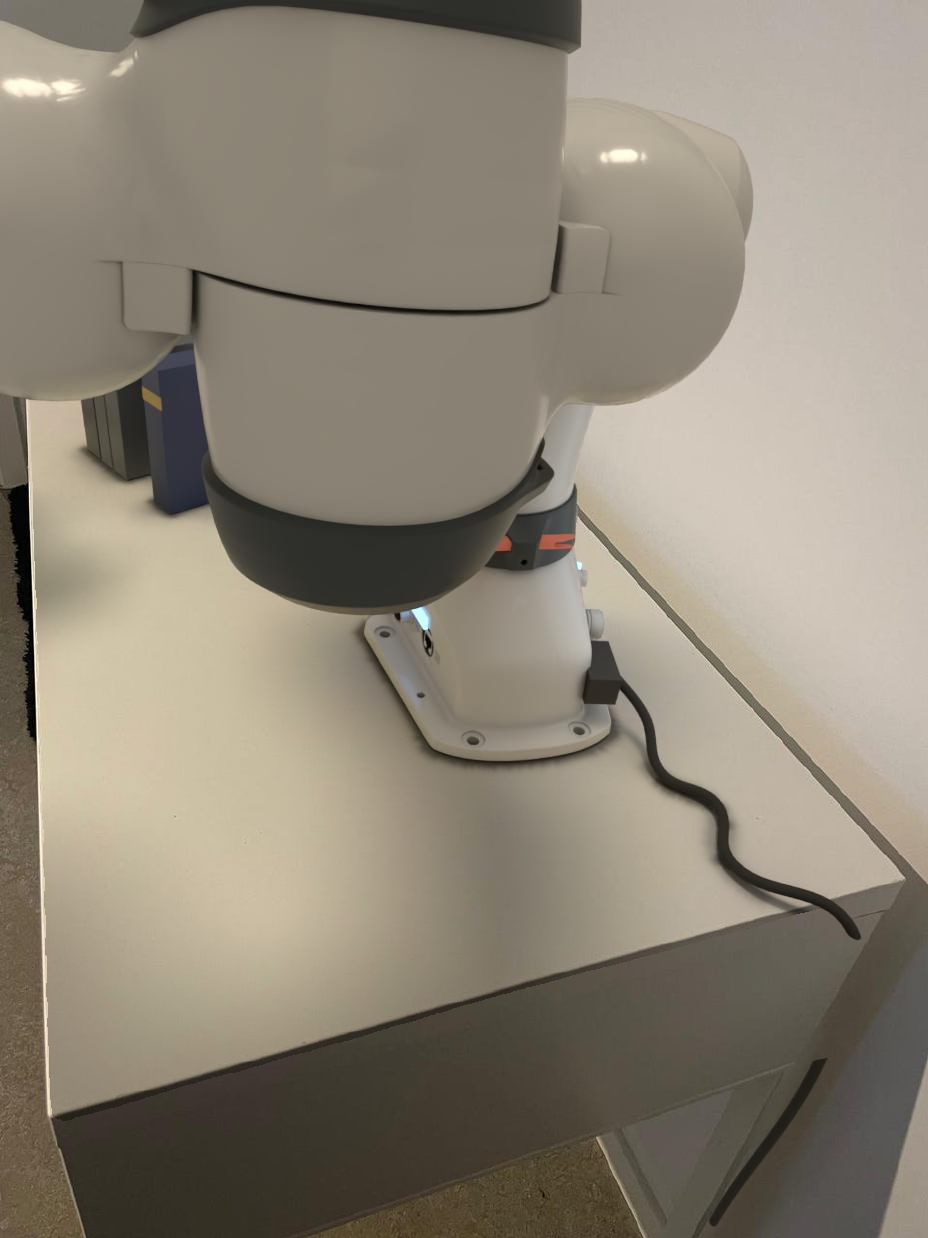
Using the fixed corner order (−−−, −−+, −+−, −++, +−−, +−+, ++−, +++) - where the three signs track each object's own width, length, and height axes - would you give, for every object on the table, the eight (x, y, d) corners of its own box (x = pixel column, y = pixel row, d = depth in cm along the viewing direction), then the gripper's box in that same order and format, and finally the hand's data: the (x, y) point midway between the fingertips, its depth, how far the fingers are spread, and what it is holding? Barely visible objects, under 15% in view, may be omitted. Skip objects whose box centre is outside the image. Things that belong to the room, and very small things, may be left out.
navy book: (260, 487, 91) (257, 351, 82) (169, 515, 84) (157, 370, 76) (242, 475, 92) (238, 340, 84) (152, 501, 86) (138, 359, 78)
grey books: (215, 456, 95) (209, 334, 87) (126, 480, 89) (111, 351, 81) (174, 428, 99) (165, 309, 91) (87, 449, 93) (69, 323, 85)
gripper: (-163, 192, 64) (1, 310, 76) (-47, 272, 54) (124, 395, 66) (-111, 121, 65) (45, 250, 76) (16, 187, 54) (174, 325, 66)
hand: (83, 318), depth 71 cm, fingers open, 8 cm apart
